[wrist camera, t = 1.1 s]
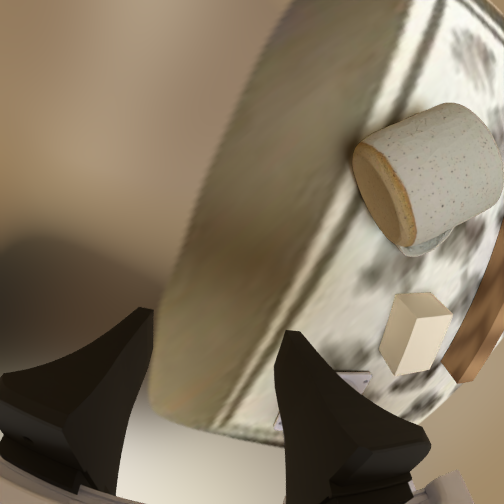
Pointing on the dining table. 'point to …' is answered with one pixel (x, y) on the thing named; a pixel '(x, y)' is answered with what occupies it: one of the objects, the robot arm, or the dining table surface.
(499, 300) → the walnut rail
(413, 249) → the ceramic mug
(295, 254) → the dining table surface
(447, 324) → the beige rectangular block
